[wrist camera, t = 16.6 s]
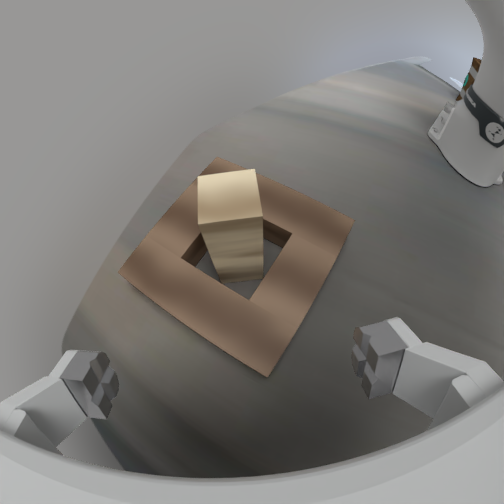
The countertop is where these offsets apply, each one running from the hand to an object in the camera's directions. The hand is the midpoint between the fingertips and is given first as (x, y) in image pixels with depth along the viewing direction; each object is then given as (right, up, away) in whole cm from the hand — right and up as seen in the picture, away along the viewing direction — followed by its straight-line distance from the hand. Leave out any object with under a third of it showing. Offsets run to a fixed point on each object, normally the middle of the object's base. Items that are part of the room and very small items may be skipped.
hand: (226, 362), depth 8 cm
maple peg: (-1, +2, +23) cm, 23 cm away
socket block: (-1, +2, +23) cm, 23 cm away
